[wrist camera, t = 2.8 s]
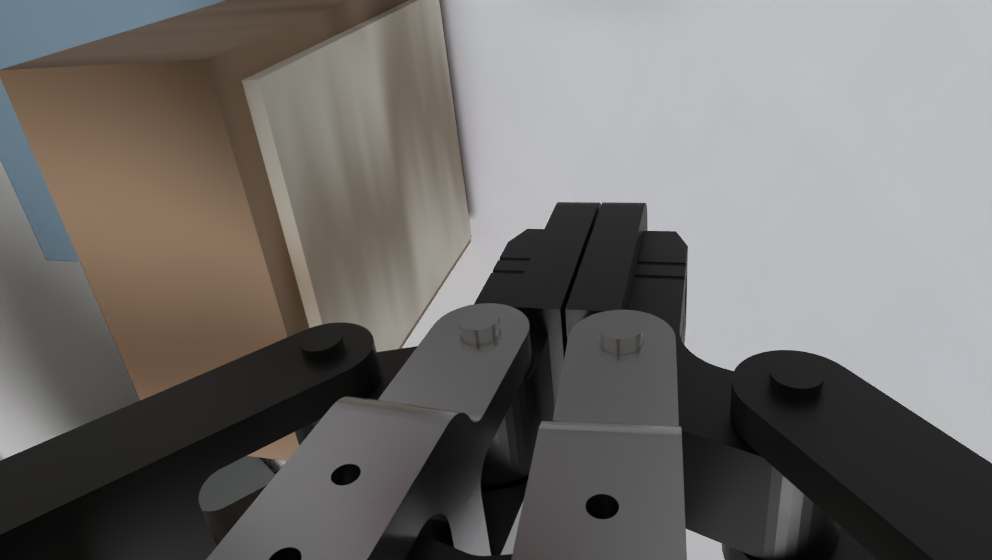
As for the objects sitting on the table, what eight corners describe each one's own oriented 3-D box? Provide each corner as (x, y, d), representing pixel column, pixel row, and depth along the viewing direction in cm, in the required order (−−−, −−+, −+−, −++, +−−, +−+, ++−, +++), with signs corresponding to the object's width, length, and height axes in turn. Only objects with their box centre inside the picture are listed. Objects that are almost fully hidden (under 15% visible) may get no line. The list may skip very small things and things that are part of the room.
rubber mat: (-71, -23, 23) (-82, -21, 23) (255, -58, 20) (247, -56, 20) (54, 255, 28) (46, 259, 28) (334, 264, 25) (328, 270, 24)
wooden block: (298, -22, 20) (-3, 70, 12) (444, -35, 19) (223, 58, 11) (355, 238, 24) (159, 445, 16) (480, 241, 23) (338, 467, 14)
